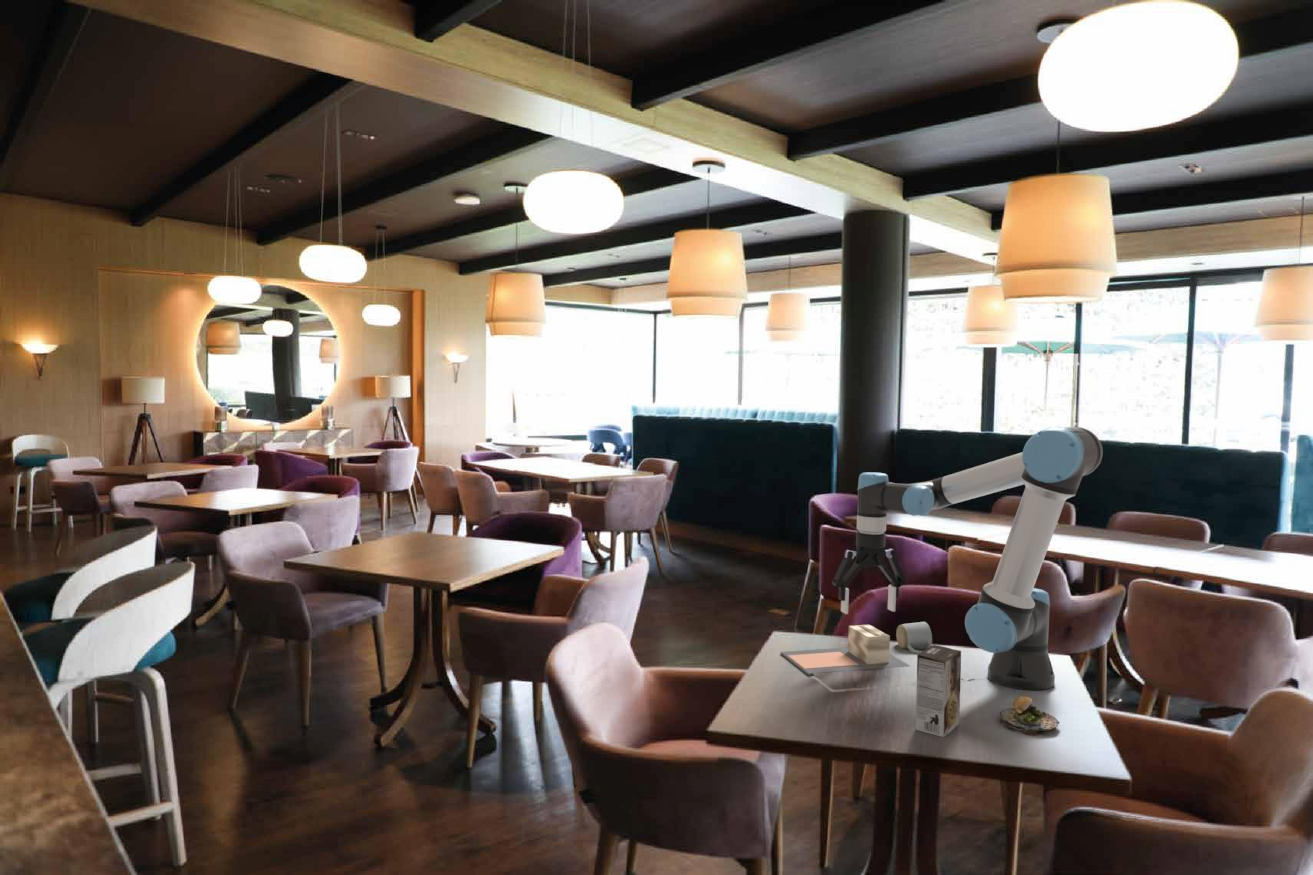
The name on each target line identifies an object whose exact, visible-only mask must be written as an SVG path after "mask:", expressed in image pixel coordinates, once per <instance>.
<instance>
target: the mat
mask: <svg viewBox="0 0 1313 875" xmlns="http://www.w3.org/2000/svg"><path fill="white" fill-rule="evenodd" d="M780 655H781V656H782V657H784V658H785V659H786V660H788V662H790V663H791V664H793V665H794V666H795V667H796V668H798V669H799V670H800V671H802V672H803V673H804V674H805V675H807V676H808V677H814V676H816V675H815V674H823V673H836V672H849V671H850V672H851V671H864V670H875V669H889V668H890V669H891V668H903V667H910V666H911V665H909V664H908V663H906V662H904V661H903V660H901V659H899V658H898V657H896V656H894V655H893V654H891V653H889V663H878V664H867V663H865V662H864V661H862V660H861V659H859V658H858V657H856V656H854V655H853V654H851V653H850V652H848V646H847V647H833V648H832V647H831V648H818V649H817V648H816V649H807V650H806V649H804V650H803V649H802V650H788V651H781V652H780Z"/></svg>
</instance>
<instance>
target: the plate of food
mask: <svg viewBox="0 0 1313 875" xmlns="http://www.w3.org/2000/svg"><path fill="white" fill-rule="evenodd" d="M1018 692H1019V691H1016V693H1017V694H1019V693H1018ZM1032 701H1033V699H1032V697H1029V696H1018V697H1017V698H1016V699H1015V700H1014V702H1013V704H1012V707H1011V708H1005V709H1003V710H1001V711H1000V712H999V719H998V721H999V724H1000V725H1001V726H1002V727H1004V728H1005V729H1007V730H1010V731H1012V732H1015V733H1019V734H1023V735H1024V734H1025V735H1028V736H1032V737H1033V736H1035V735H1036V734H1037V732H1047V731H1050V730H1053V729H1055V728H1057V727H1059V725H1060V721H1059V720H1058V719H1057V718H1056V717H1055V716H1053V715H1052V714H1049V713H1047V712H1046V711H1041V710H1040V709H1038V708H1037V706H1035V705H1033V704H1032Z"/></svg>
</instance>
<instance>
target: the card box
mask: <svg viewBox="0 0 1313 875" xmlns="http://www.w3.org/2000/svg"><path fill="white" fill-rule="evenodd" d="M890 640H891V636H890V635H889V634H887V633H885V632H883V631H881V630H880V629H878V628H876V627H875V626H873V625H871V624H859V625H858V624H857V625H848V640H847V641H848V645H847V647H848V652H850V653H851V654H853V655H854V656H856V657H858V658H859V659H861V660H862V661H864V662H865V663H867V664H878V663H889V654H890V645H891V644H890V643H891V642H890Z"/></svg>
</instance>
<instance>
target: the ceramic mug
mask: <svg viewBox="0 0 1313 875" xmlns="http://www.w3.org/2000/svg"><path fill="white" fill-rule="evenodd" d="M895 636H896V642H897V645H898V647H900V648H901V649H903V650H909V651H910V652H911V653H913V654H917V655H918V654H919V653H921V652H923V651H924V650H926V649H927V648H929V647H930V646H932V645H933V635H932V631H931V628H930V625H929V623H927V622H926V621H920V622H911V623H909V622H908V623H903V624H902V623H901V624H899V625H898V626H897V627H896V633H895ZM921 650H922V651H921Z"/></svg>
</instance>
